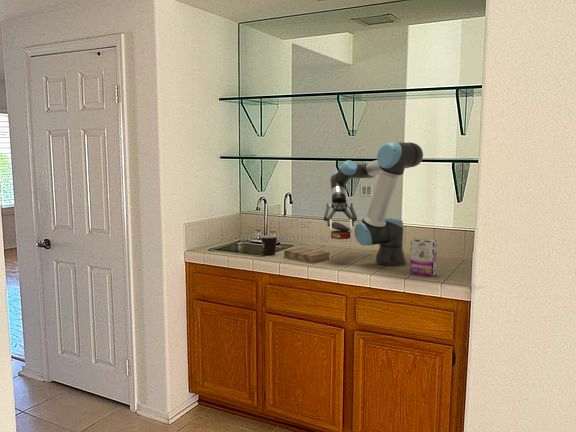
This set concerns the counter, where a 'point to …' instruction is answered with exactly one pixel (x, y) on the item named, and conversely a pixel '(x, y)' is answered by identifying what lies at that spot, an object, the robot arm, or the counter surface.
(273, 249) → the coffee mug
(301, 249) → the block
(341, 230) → the canned food
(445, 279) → the counter surface
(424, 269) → the candy bar box
